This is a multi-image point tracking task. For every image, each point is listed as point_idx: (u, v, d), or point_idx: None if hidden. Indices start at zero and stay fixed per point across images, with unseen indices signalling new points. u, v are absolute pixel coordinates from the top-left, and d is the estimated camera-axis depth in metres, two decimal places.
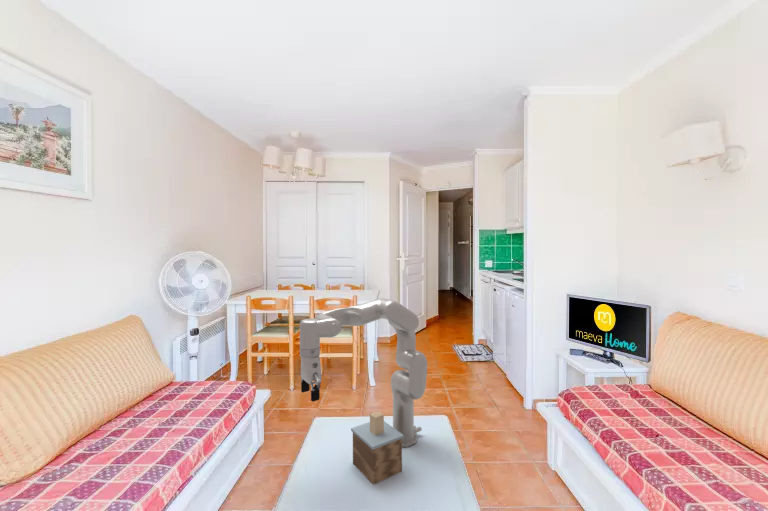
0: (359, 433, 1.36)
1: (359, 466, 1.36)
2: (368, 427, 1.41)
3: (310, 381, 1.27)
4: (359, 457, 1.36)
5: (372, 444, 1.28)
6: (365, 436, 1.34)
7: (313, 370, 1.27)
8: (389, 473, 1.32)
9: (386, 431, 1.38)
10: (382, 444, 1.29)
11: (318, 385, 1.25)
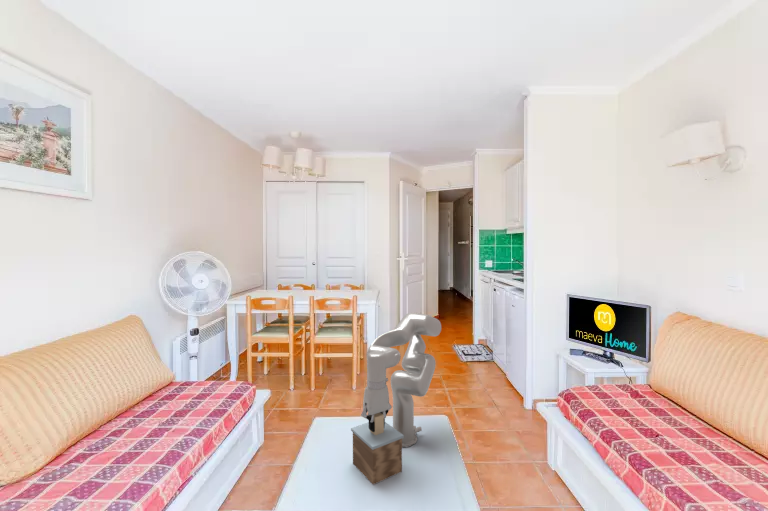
0: (359, 433, 1.36)
1: (359, 466, 1.36)
2: (368, 427, 1.41)
3: (388, 406, 1.39)
4: (359, 457, 1.36)
5: (372, 444, 1.28)
6: (365, 436, 1.34)
7: None
8: (389, 473, 1.32)
9: (386, 431, 1.38)
10: (382, 444, 1.29)
11: None
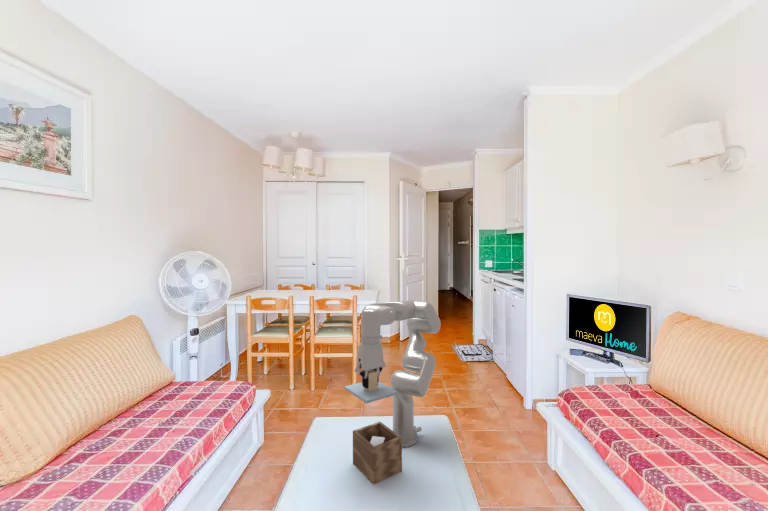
0: (352, 390, 1.34)
1: (359, 466, 1.36)
2: (362, 385, 1.39)
3: (382, 363, 1.37)
4: (359, 457, 1.36)
5: (366, 398, 1.27)
6: (359, 392, 1.32)
7: None
8: (389, 473, 1.32)
9: (380, 388, 1.36)
10: (376, 398, 1.27)
11: None
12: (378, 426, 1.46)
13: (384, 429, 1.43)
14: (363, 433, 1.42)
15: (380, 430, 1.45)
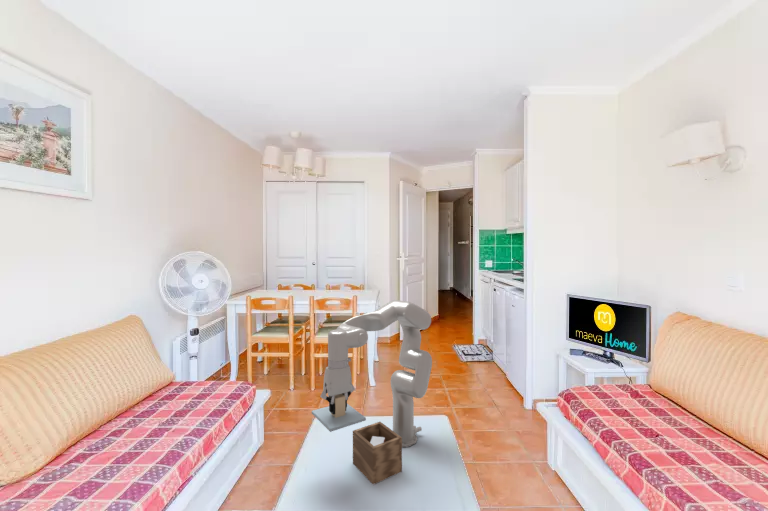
0: (319, 415, 1.28)
1: (359, 466, 1.36)
2: None
3: (351, 387, 1.31)
4: (359, 457, 1.36)
5: (330, 426, 1.21)
6: (325, 418, 1.26)
7: None
8: (389, 473, 1.32)
9: (348, 414, 1.30)
10: (341, 426, 1.21)
11: None
12: (378, 426, 1.46)
13: (384, 429, 1.43)
14: (363, 433, 1.42)
15: (380, 430, 1.45)
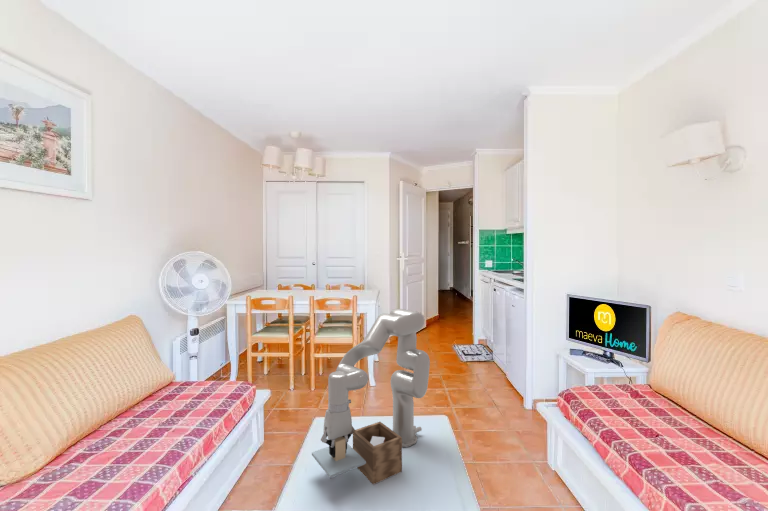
0: (319, 458, 1.29)
1: (359, 466, 1.36)
2: None
3: (351, 429, 1.31)
4: None
5: (330, 472, 1.21)
6: (325, 462, 1.27)
7: None
8: (389, 473, 1.32)
9: (348, 456, 1.30)
10: (341, 471, 1.22)
11: None
12: (378, 426, 1.46)
13: (384, 429, 1.43)
14: (363, 433, 1.42)
15: (380, 430, 1.45)
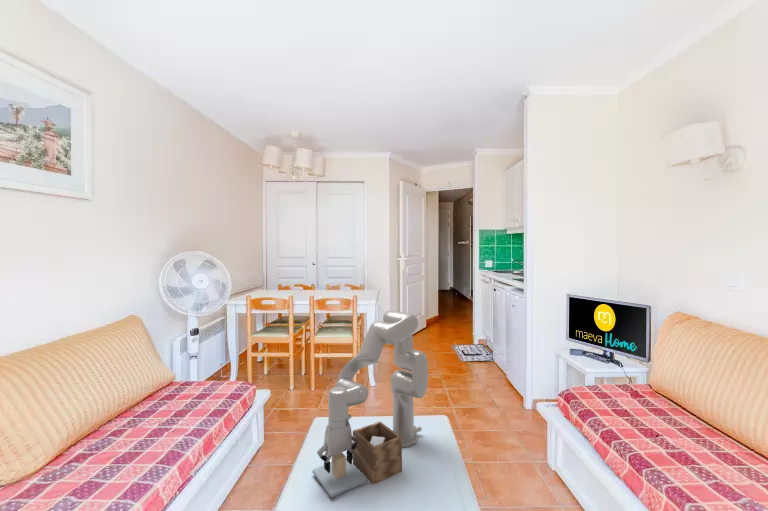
0: (320, 476, 1.29)
1: (359, 466, 1.36)
2: (331, 468, 1.34)
3: (351, 444, 1.31)
4: (359, 457, 1.36)
5: (331, 490, 1.21)
6: (325, 480, 1.27)
7: None
8: (389, 473, 1.32)
9: (349, 473, 1.30)
10: (342, 490, 1.22)
11: None
12: (378, 426, 1.46)
13: (384, 429, 1.43)
14: (363, 433, 1.42)
15: (380, 430, 1.45)
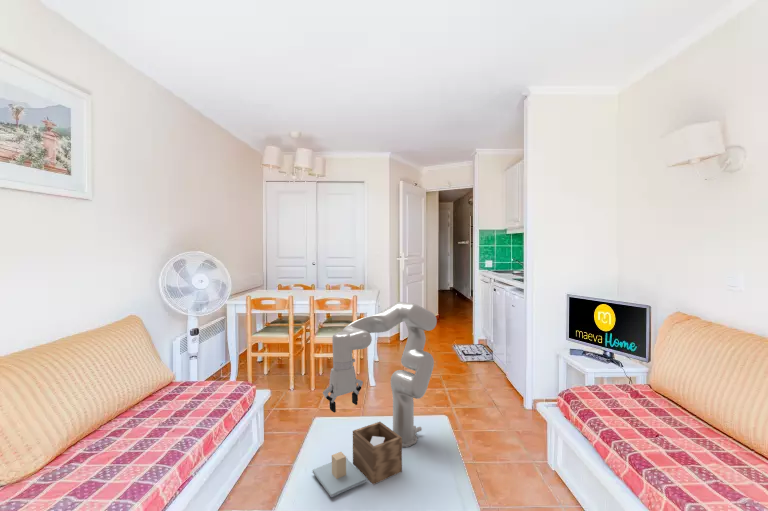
0: (320, 476, 1.29)
1: (359, 466, 1.36)
2: (331, 468, 1.34)
3: (356, 386, 1.36)
4: (359, 457, 1.36)
5: (331, 490, 1.21)
6: (325, 480, 1.27)
7: None
8: (389, 473, 1.32)
9: (349, 473, 1.30)
10: (342, 490, 1.22)
11: None
12: (378, 426, 1.46)
13: (384, 429, 1.43)
14: (363, 433, 1.42)
15: (380, 430, 1.45)
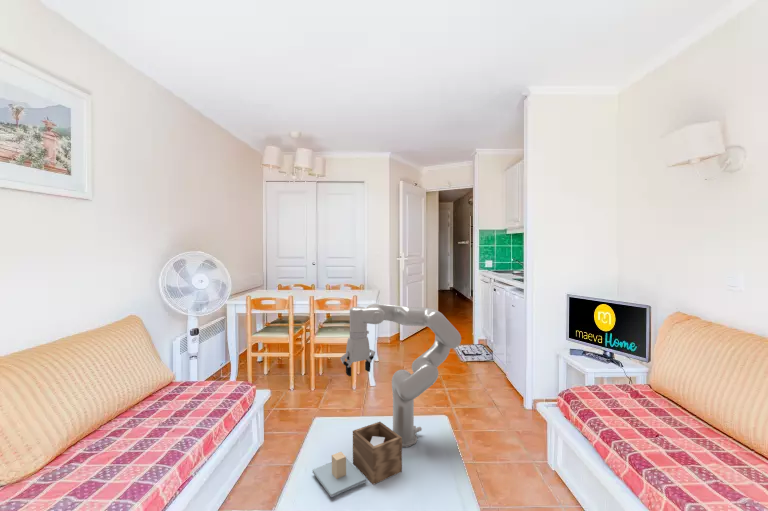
0: (320, 476, 1.29)
1: (359, 466, 1.36)
2: (331, 468, 1.34)
3: (369, 355, 1.54)
4: (359, 457, 1.36)
5: (331, 490, 1.21)
6: (325, 480, 1.27)
7: None
8: (389, 473, 1.32)
9: (349, 473, 1.30)
10: (342, 490, 1.22)
11: None
12: (378, 426, 1.46)
13: (384, 429, 1.43)
14: (363, 433, 1.42)
15: (380, 430, 1.45)
